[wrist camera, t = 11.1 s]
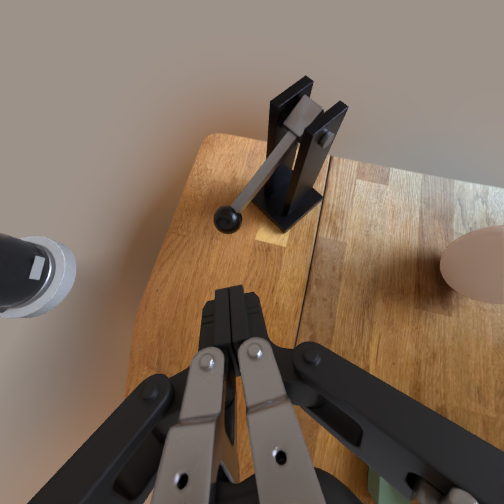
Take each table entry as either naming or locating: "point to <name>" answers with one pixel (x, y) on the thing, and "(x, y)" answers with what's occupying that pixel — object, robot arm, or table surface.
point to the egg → (476, 265)
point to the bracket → (307, 162)
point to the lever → (269, 164)
